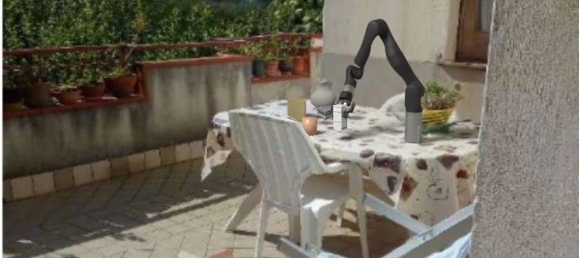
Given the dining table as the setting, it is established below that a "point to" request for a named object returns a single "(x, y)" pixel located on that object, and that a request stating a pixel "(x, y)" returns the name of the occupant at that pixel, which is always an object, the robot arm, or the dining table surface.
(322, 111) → the towel
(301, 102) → the cheese
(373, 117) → the dining table surface
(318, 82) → the ceramic pitcher
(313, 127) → the peach rounded cylinder
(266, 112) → the dining table surface
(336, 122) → the syrup box
